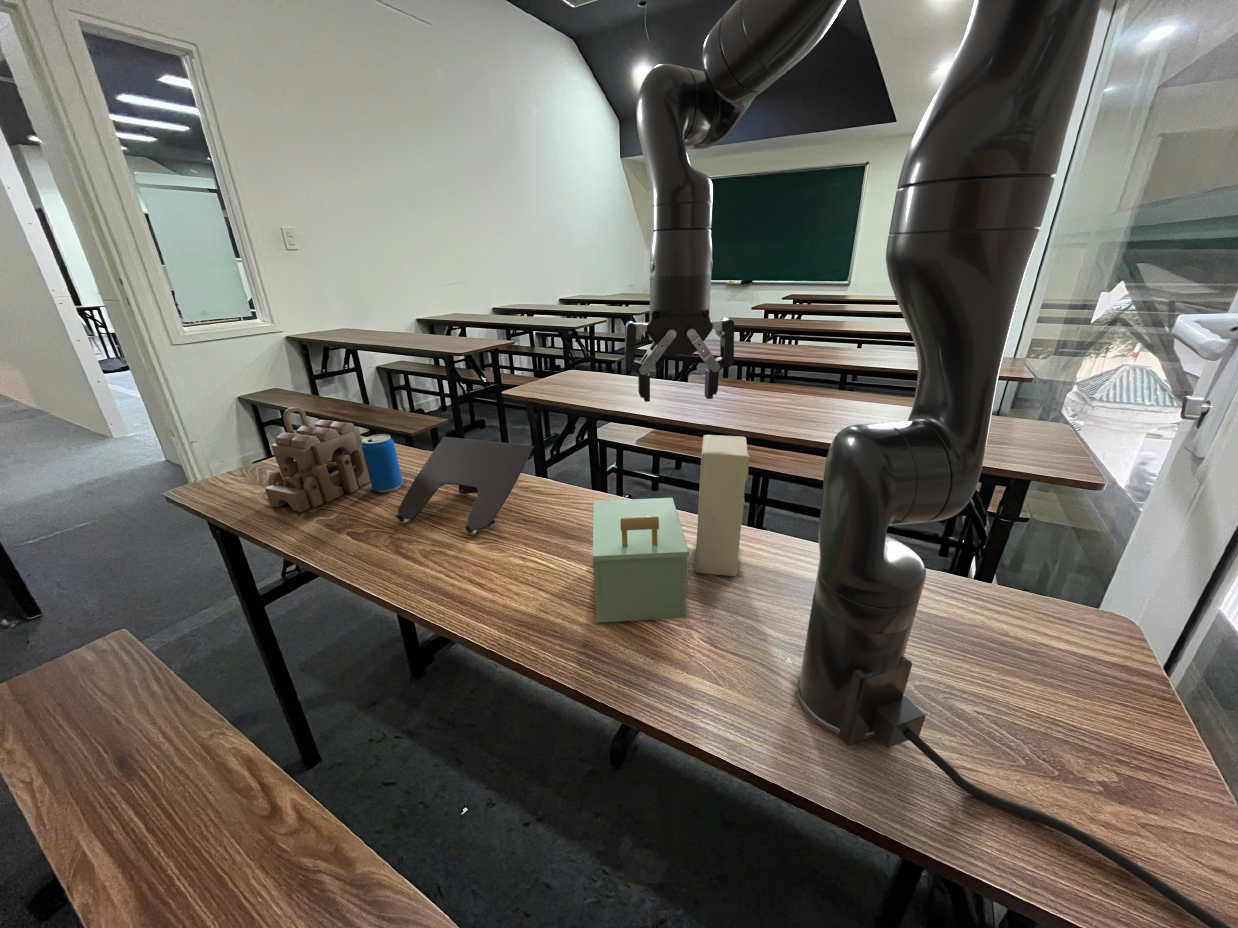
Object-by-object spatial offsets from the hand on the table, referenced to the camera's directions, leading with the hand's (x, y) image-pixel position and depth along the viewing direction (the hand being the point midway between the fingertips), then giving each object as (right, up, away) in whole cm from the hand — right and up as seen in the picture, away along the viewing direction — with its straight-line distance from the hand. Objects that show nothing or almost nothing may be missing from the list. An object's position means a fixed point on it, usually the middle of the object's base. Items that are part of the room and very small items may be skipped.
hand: (677, 399), depth 65 cm
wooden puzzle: (-75, -14, +45) cm, 89 cm away
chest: (-5, -28, +9) cm, 30 cm away
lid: (-5, -18, +4) cm, 19 cm away
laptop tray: (-40, -18, +35) cm, 56 cm away
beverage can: (-61, -14, +44) cm, 77 cm away
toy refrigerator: (+9, -25, +14) cm, 30 cm away
